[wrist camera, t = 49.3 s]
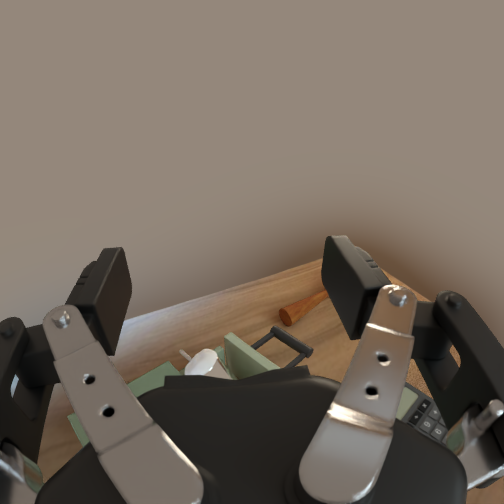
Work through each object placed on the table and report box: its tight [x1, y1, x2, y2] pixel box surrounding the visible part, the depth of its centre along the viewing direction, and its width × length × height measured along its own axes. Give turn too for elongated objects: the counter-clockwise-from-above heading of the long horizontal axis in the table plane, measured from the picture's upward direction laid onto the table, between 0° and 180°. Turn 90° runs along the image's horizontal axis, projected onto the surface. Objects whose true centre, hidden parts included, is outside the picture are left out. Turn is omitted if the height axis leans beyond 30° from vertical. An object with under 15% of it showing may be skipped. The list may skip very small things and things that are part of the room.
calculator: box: [396, 382, 448, 447], centre depth 31 cm, size 12×1×15 cm
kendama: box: [279, 290, 329, 326], centre depth 55 cm, size 6×6×20 cm
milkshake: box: [179, 349, 238, 380], centre depth 33 cm, size 4×5×10 cm
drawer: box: [178, 326, 313, 379], centre depth 35 cm, size 19×11×7 cm, turn 135°
